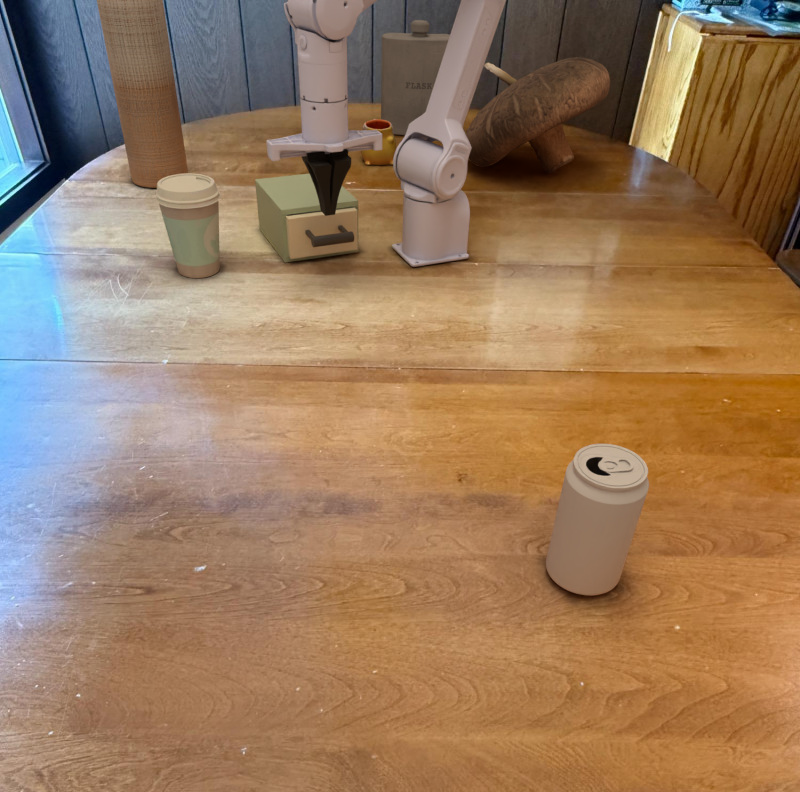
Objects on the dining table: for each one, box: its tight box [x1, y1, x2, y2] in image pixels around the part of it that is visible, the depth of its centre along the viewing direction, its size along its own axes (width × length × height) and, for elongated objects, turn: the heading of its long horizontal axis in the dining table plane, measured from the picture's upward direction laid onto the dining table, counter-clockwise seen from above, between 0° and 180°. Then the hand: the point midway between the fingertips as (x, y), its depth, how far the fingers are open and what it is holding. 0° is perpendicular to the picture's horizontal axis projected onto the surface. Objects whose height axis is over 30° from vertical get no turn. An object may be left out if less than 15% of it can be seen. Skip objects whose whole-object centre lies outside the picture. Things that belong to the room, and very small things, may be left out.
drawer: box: [286, 207, 359, 259], centre depth 115 cm, size 17×10×6 cm, turn 23°
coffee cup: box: [155, 172, 222, 279], centre depth 107 cm, size 8×8×12 cm
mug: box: [360, 118, 397, 166], centre depth 149 cm, size 12×7×7 cm, turn 3°
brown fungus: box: [465, 56, 611, 174], centre depth 143 cm, size 28×23×25 cm
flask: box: [380, 19, 451, 137], centre depth 158 cm, size 15×6×20 cm, turn 92°
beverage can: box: [545, 443, 650, 596], centre depth 63 cm, size 6×6×12 cm
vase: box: [96, 0, 189, 189], centre depth 129 cm, size 10×10×28 cm
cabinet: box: [254, 173, 360, 263], centre depth 117 cm, size 14×12×8 cm
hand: (327, 212), depth 102 cm, fingers closed
